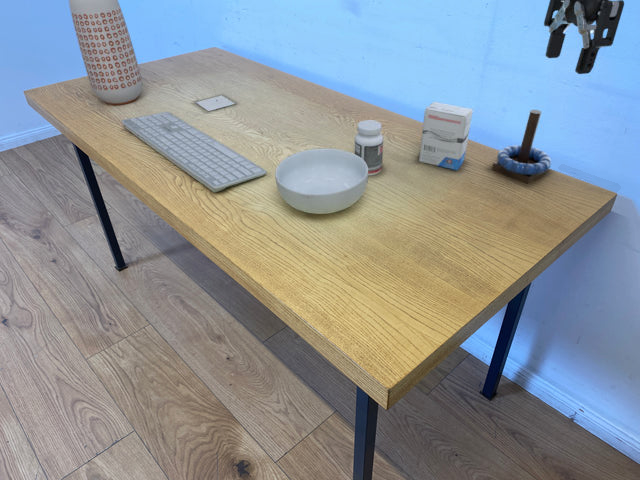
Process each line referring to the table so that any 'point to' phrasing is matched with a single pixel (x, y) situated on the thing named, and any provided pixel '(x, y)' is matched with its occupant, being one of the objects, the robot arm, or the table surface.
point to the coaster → (215, 103)
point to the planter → (106, 50)
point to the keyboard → (193, 151)
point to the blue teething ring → (524, 168)
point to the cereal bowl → (322, 180)
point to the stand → (524, 150)
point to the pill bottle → (370, 145)
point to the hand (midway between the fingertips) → (566, 64)
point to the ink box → (445, 135)
